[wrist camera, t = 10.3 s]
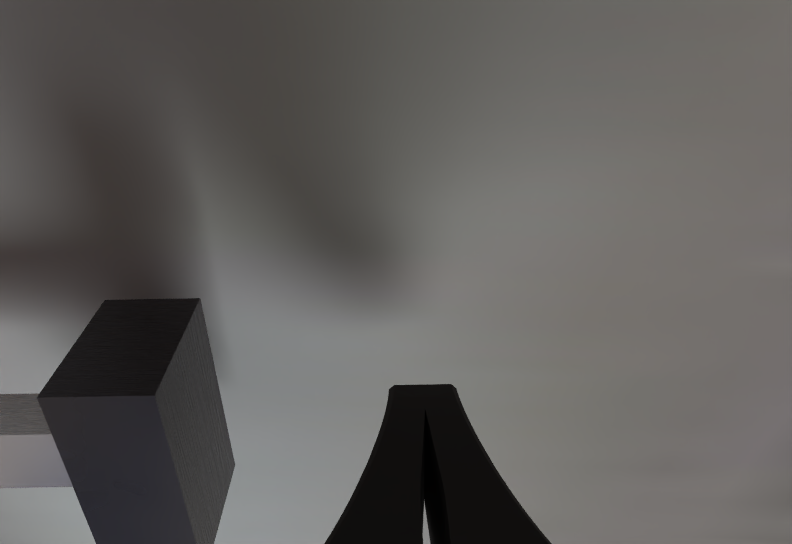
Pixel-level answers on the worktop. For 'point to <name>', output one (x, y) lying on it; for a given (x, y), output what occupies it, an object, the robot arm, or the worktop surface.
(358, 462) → the worktop surface
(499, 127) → the worktop surface
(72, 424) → the press ram
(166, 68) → the worktop surface
